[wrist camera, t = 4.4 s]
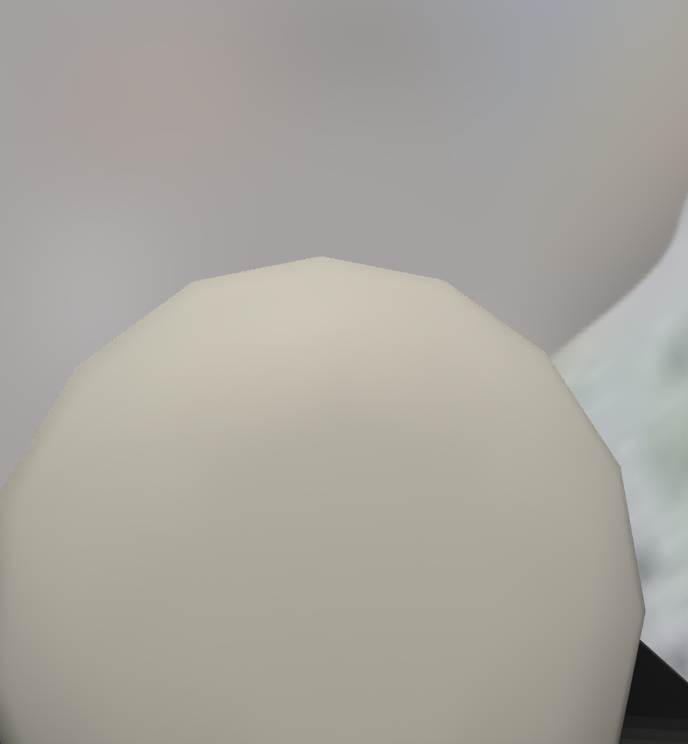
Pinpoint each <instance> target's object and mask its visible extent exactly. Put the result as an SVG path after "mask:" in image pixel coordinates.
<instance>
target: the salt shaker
mask: <svg viewBox="0 0 688 744" xmlns="http://www.w3.org/2000/svg"><path fill="white" fill-rule="evenodd" d="M644 616H645V605H644V599H643V594H642V588H641V582H640V576H639V571H638V565H637V559H636V554H635V548H634V542H633V537H632V531H631V525H630V520H629V514H628V508H627V503H626V497H625V491H624V485H623V480H622V474H621V468H620V465H619V464H618V462H617V461H616V459H615V458H614V456H613V455H612V453H611V452H610V450H609V449H608V447H607V446H606V444H605V443H604V441H603V439H602V438H601V436H600V435H599V433H598V432H597V430H596V429H595V427H594V426H593V424H592V423H591V421H590V420H589V418H588V417H587V415H586V413H585V412H584V410H583V409H582V407H581V406H580V404H579V403H578V401H577V400H576V398H575V397H574V395H573V394H572V392H571V391H570V389H569V387H568V386H567V384H566V383H565V381H564V380H563V378H562V377H561V375H560V374H559V372H558V371H557V369H556V368H555V366H554V365H553V363H552V362H551V360H550V358H549V357H548V355H547V354H546V353H545V352H543V351H542V350H540V349H539V348H538V347H536V346H535V345H533V344H532V343H531V342H529V341H528V340H526V339H525V338H524V337H522V336H521V335H519V334H518V333H516V332H515V331H514V330H512V329H511V328H510V327H508V326H507V325H505V324H503V322H501V321H500V320H498V319H497V318H496V317H494V316H493V315H491V314H490V313H489V312H487V311H486V310H484V309H483V308H482V307H480V306H479V305H477V304H476V303H475V302H473V301H472V300H470V299H469V298H468V297H466V296H465V295H463V294H462V293H460V292H459V291H458V290H456V289H455V288H453V287H452V286H450V285H449V284H448V283H446V282H445V281H444V280H439V279H435V278H429V277H424V276H419V275H414V274H409V273H404V272H398V271H393V270H389V269H383V268H378V267H373V266H368V265H362V264H358V263H353V262H347V261H342V260H336V259H332V258H327V257H322V256H319V257H314V258H309V259H304V260H299V261H294V262H289V263H285V264H279V265H275V266H269V267H264V268H259V269H254V270H249V271H244V272H240V273H234V274H229V275H224V276H220V277H214V278H209V279H204V280H199V281H194V282H192V283H190V284H189V285H188V286H186V287H185V288H183V289H182V290H181V291H179V292H178V293H177V294H175V295H174V296H172V297H171V298H170V299H168V300H167V301H166V302H164V303H163V304H162V305H160V306H159V307H157V308H156V309H155V310H153V311H152V312H151V313H149V314H148V315H146V316H145V317H144V318H142V319H141V320H140V321H138V322H137V323H136V324H134V325H133V326H131V327H130V328H129V329H127V330H126V331H125V332H123V333H122V334H120V335H119V336H118V337H116V338H115V339H114V340H112V341H111V342H109V343H108V344H107V345H105V346H104V347H103V348H101V349H100V350H98V351H97V352H96V353H94V354H93V355H92V356H90V357H89V358H88V359H86V360H85V361H83V362H82V363H81V364H79V365H78V366H77V368H76V369H75V371H74V372H73V374H72V376H71V377H70V379H69V381H68V382H67V384H66V385H65V387H64V389H63V390H62V392H61V394H60V395H59V397H58V398H57V400H56V402H55V403H54V405H53V406H52V408H51V410H50V412H49V413H48V415H47V416H46V418H45V419H44V421H43V423H42V424H41V426H40V428H39V429H38V431H37V432H36V434H35V436H34V437H33V439H32V441H31V442H30V444H29V445H28V447H27V449H26V450H25V452H24V454H23V455H22V457H21V458H20V460H19V462H18V463H17V465H16V467H15V468H14V470H13V472H12V473H11V475H10V477H9V478H8V480H7V481H6V483H5V484H4V486H3V488H2V489H1V491H0V743H1V744H619V741H620V736H621V731H622V726H623V721H624V716H625V711H626V706H627V701H628V696H629V691H630V686H631V681H632V676H633V671H634V666H635V661H636V656H637V651H638V646H639V641H640V636H641V631H642V626H643V621H644Z"/></svg>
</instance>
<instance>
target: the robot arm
mask: <svg viewBox="0 0 688 744" xmlns="http://www.w3.org/2000/svg"><path fill="white" fill-rule="evenodd" d="M0 744H1V743H0ZM619 744H688V682H687V681H686V680H685V679H684V678H682V677H681V676H680V675H679V674H678V673H677V672H676V671H675V670H674V669H672V668H671V667H670V666H669V665H668V664H667V663H666V662H665V661H663V660H662V659H661V658H660V657H659V656H658V655H657V654H656V653H654V652H653V651H652V650H651V649H650V648H649V647H648V646H647V645H645V644H644V643H643V642H642V641H641V640H640V641H639V646H638V651H637V656H636V661H635V666H634V671H633V676H632V681H631V686H630V691H629V696H628V701H627V706H626V711H625V716H624V721H623V726H622V731H621V736H620V741H619Z"/></svg>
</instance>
